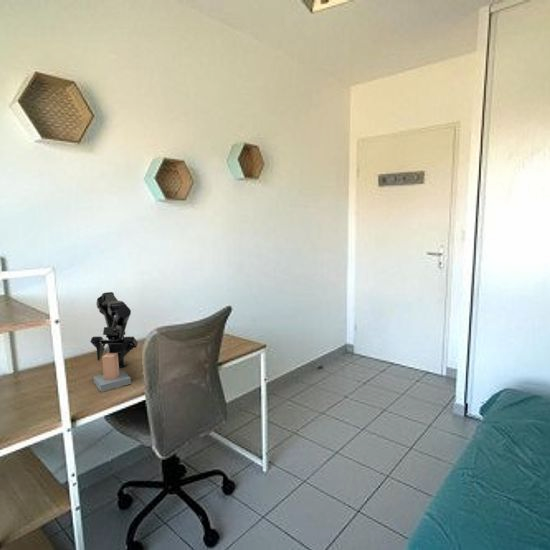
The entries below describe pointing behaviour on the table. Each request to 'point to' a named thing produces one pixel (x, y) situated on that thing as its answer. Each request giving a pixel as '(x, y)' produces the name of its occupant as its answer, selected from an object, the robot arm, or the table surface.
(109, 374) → the brick
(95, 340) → the robot arm
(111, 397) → the table surface
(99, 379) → the base block
